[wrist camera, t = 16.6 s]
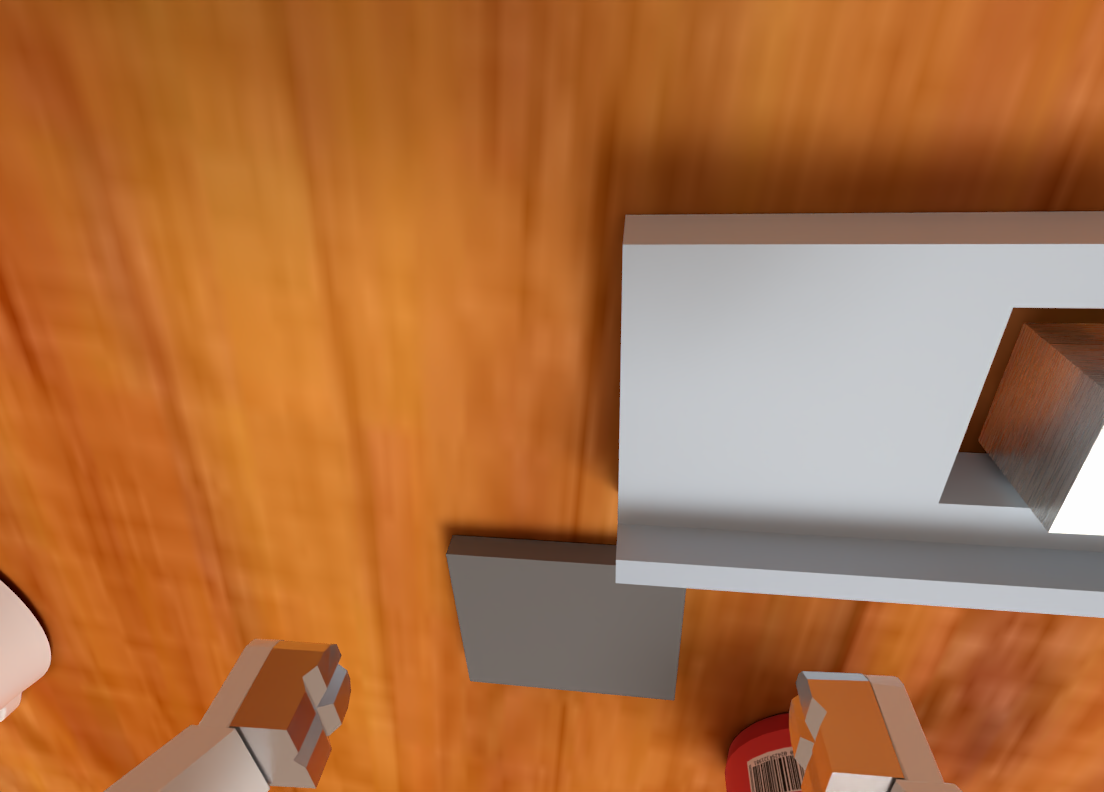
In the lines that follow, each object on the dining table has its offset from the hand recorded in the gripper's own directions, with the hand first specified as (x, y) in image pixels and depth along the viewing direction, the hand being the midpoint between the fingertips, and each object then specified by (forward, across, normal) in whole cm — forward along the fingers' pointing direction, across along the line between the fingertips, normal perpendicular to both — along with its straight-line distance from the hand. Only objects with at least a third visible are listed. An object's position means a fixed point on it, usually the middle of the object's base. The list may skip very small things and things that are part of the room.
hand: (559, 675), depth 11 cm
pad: (+10, +1, +11) cm, 15 cm away
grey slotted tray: (+10, -10, -1) cm, 14 cm away
